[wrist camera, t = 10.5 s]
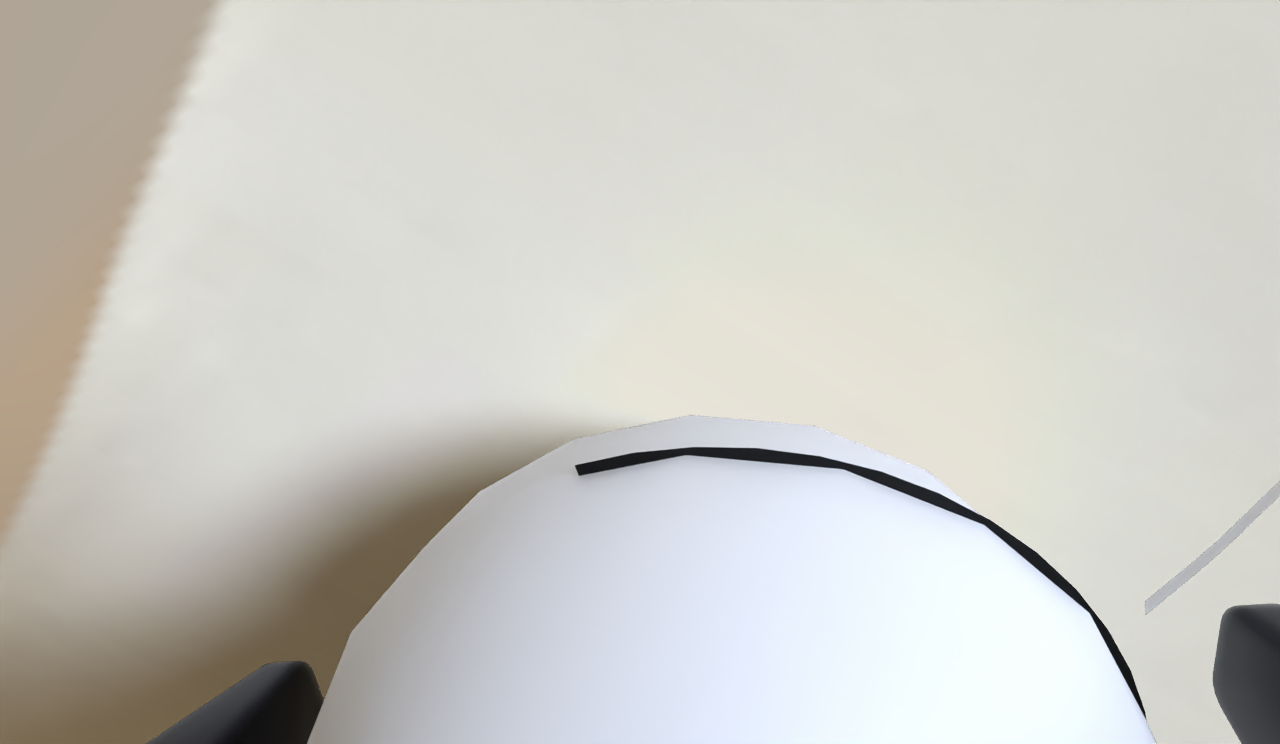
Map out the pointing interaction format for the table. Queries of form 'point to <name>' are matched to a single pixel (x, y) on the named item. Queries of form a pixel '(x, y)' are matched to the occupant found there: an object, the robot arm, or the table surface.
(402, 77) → the table surface
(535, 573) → the seamed sphere
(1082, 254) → the table surface
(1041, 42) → the table surface
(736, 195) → the table surface
